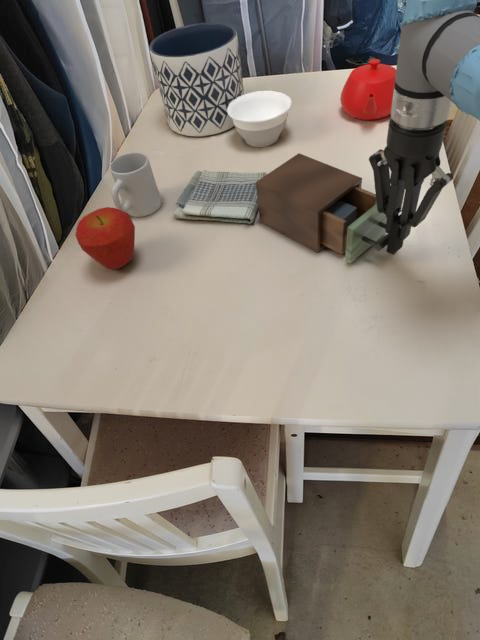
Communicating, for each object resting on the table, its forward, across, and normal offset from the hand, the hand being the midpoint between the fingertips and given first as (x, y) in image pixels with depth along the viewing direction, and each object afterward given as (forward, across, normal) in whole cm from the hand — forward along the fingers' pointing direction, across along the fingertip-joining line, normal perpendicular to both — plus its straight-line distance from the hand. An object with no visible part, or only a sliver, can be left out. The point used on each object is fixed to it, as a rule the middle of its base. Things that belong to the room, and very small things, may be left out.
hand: (394, 249), depth 78 cm
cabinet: (+3, -20, 0) cm, 20 cm away
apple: (+3, -41, -34) cm, 53 cm away
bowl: (+3, -52, +18) cm, 55 cm away
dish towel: (+3, -40, -6) cm, 41 cm away
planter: (+3, -73, +18) cm, 75 cm away
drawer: (+2, -10, 0) cm, 10 cm away
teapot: (+3, -37, +44) cm, 57 cm away
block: (+1, -12, 0) cm, 12 cm away
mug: (+3, -53, -20) cm, 57 cm away
